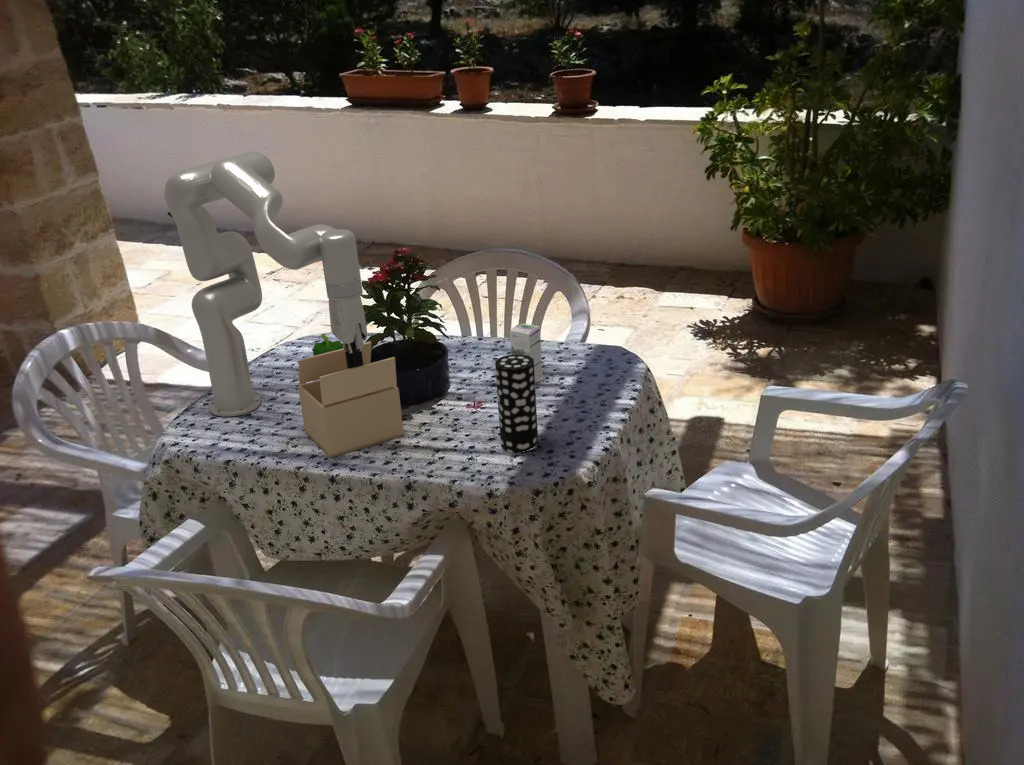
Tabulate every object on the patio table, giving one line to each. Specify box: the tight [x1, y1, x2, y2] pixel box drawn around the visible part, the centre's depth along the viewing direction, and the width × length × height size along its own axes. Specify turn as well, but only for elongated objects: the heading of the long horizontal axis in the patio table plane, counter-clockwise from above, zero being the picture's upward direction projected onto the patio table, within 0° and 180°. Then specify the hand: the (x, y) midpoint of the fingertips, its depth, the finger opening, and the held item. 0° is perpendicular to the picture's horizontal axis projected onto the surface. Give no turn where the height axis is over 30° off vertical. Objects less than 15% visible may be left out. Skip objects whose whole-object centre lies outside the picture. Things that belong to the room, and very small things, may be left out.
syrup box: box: [509, 322, 544, 382], centre depth 262 cm, size 6×6×14 cm
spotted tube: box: [494, 354, 539, 454], centre depth 229 cm, size 8×8×20 cm
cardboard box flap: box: [319, 356, 398, 406], centre depth 230 cm, size 7×18×1 cm
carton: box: [297, 379, 405, 459], centre depth 240 cm, size 16×18×12 cm
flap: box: [297, 341, 372, 385], centre depth 241 cm, size 7×18×1 cm
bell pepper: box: [312, 333, 344, 356], centre depth 276 cm, size 8×8×10 cm
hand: (355, 367), depth 230 cm, fingers closed
